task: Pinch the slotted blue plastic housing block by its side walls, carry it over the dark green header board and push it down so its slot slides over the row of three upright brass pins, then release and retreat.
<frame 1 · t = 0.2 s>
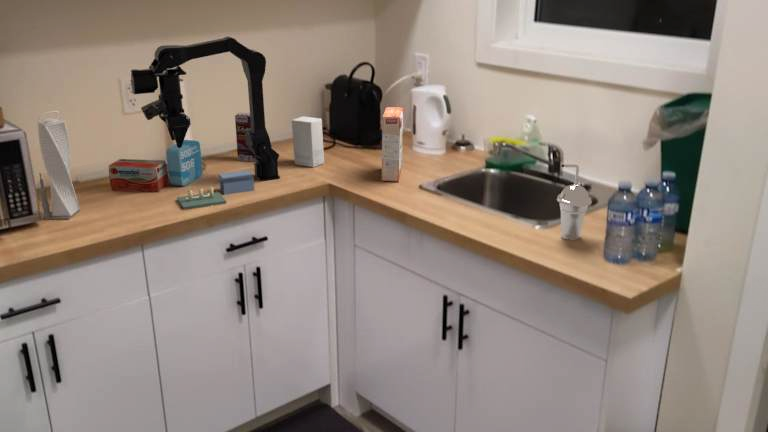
hand: (176, 143, 209), 14 cm above the worktop, tool pointing down, fingers open, 9 cm apart
supplement box: (251, 160, 243), on the worktop
data package: (186, 181, 221), on the worktop
header board: (201, 201, 204), on the worktop
cracker box: (392, 175, 228), on the worktop
medicine box: (140, 188, 216), on the worktop
cup with straw: (569, 237, 181), on the worktop
skincare box: (308, 164, 239), on the worktop
skyscraper: (65, 214, 194), on the worktop
housing: (237, 190, 214), on the worktop
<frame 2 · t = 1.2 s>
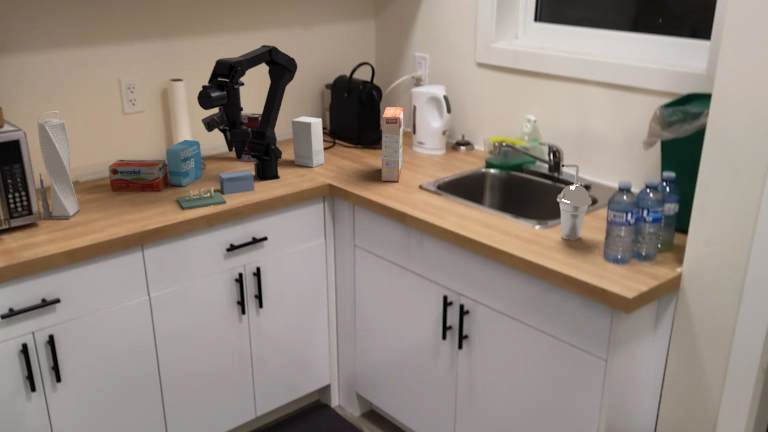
hand: (234, 155, 210), 11 cm above the worktop, tool pointing down, fingers open, 9 cm apart
nothing on the worktop moved.
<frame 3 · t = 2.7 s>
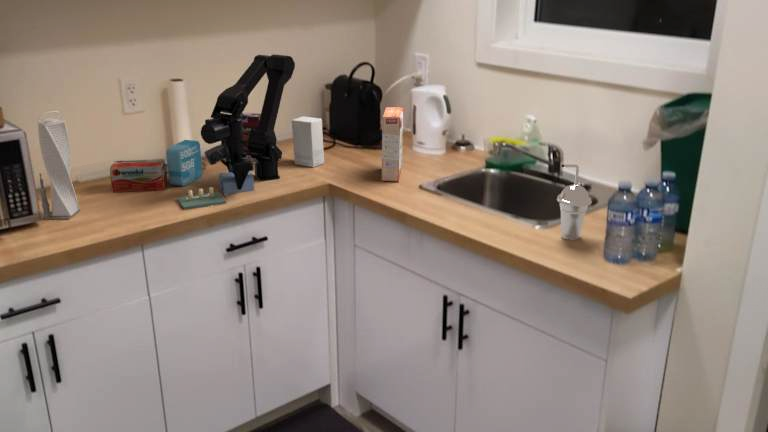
hand: (236, 186, 213), 1 cm above the worktop, tool pointing down, fingers closed on housing, 5 cm apart
housing: (237, 189, 214), on the worktop, touching gripper
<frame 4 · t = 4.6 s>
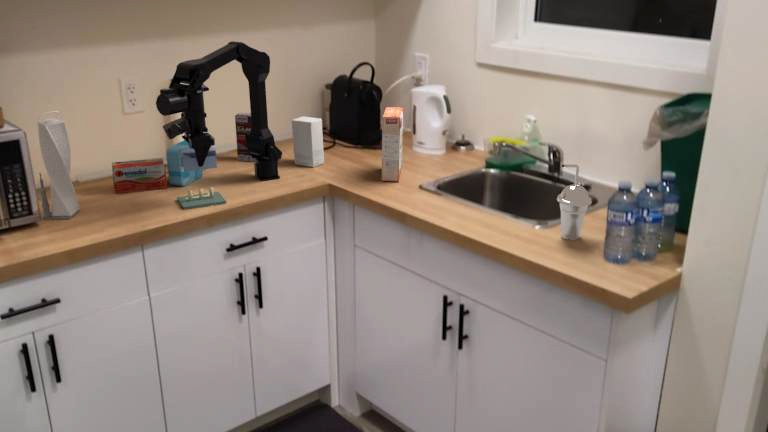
hand: (198, 163, 200), 11 cm above the worktop, tool pointing down, fingers closed on housing, 5 cm apart
housing: (198, 167, 200), point 10 cm above the worktop, touching gripper
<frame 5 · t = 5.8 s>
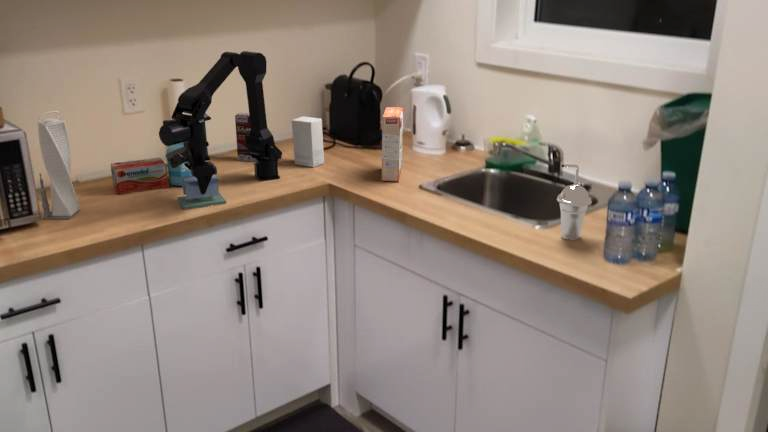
hand: (200, 191, 203), 3 cm above the worktop, tool pointing down, fingers closed on housing, 5 cm apart
housing: (201, 194, 203), point 2 cm above the worktop, touching gripper
when the fingers open (3 cm above the worktop, at t = 6.6 s): housing drops 1 cm, resting on header board.
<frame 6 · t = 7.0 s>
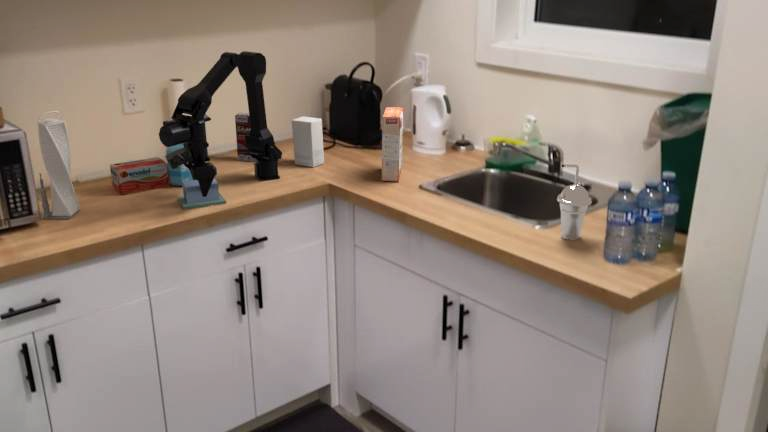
hand: (200, 191, 203), 3 cm above the worktop, tool pointing down, fingers open, 9 cm apart
housing: (201, 198, 204), point 1 cm above the worktop, touching header board
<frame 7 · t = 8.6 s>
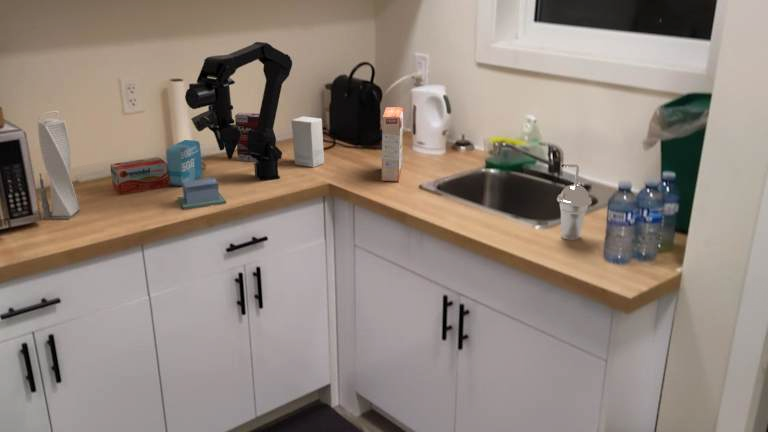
hand: (225, 154, 208), 12 cm above the worktop, tool pointing down, fingers open, 9 cm apart
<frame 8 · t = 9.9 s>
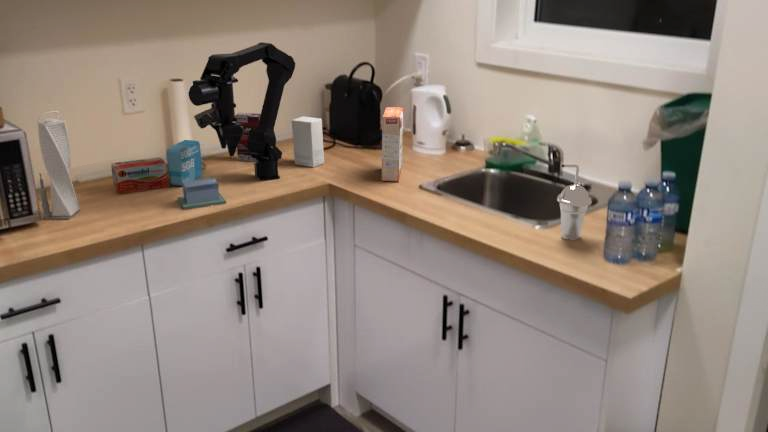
hand: (227, 152, 209), 12 cm above the worktop, tool pointing down, fingers open, 9 cm apart
at the end: housing 0.1 cm off-centre on the header board, point 0.9 cm above the header board's base; housing tilted 1°; the gripper is holding nothing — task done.
